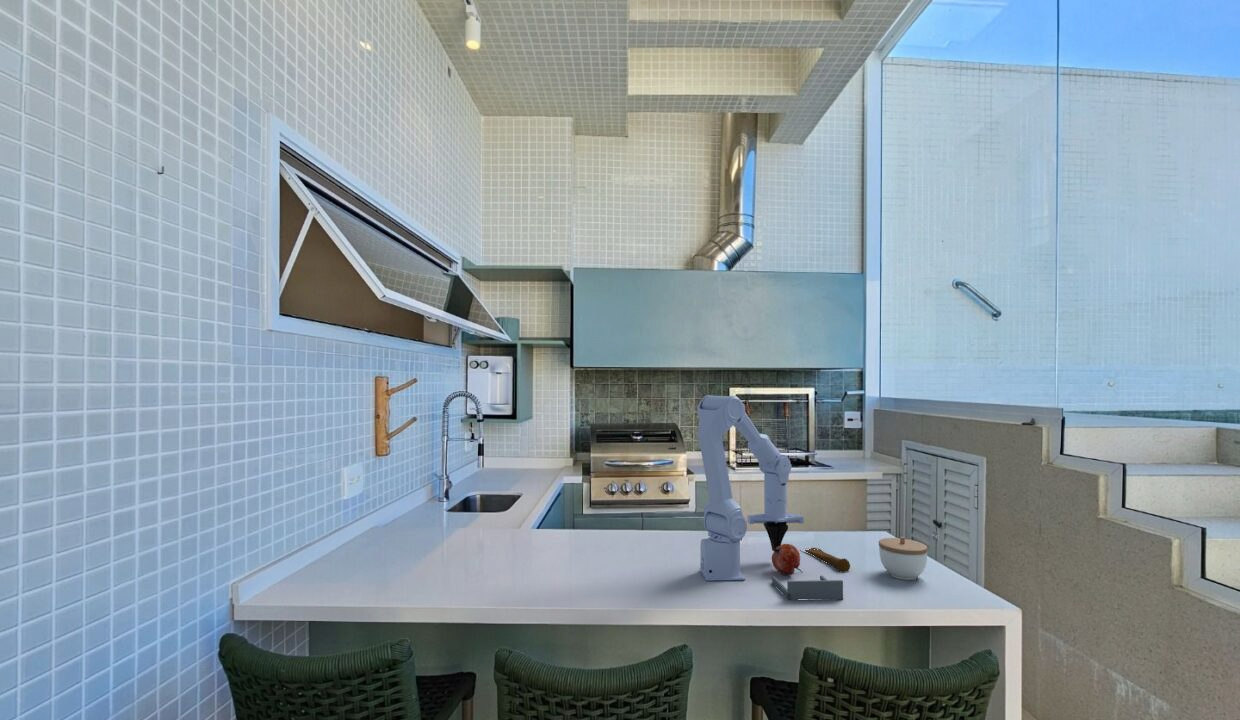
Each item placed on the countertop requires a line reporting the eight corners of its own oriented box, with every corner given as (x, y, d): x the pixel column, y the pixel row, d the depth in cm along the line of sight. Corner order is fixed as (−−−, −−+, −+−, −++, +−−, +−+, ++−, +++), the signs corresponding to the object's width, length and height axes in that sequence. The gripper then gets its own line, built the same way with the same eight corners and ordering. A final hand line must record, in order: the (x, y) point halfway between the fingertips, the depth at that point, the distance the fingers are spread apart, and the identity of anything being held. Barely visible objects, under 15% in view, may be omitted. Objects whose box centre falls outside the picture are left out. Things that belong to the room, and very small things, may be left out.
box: (788, 600, 119) (788, 581, 120) (772, 582, 130) (772, 565, 130) (843, 599, 120) (842, 580, 120) (822, 581, 131) (822, 564, 131)
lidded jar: (870, 569, 140) (869, 531, 141) (909, 567, 141) (908, 530, 142) (896, 584, 130) (895, 544, 130) (938, 582, 131) (937, 542, 131)
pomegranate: (789, 576, 141) (759, 552, 141) (807, 554, 141) (777, 530, 140) (798, 590, 134) (766, 565, 133) (817, 567, 133) (785, 542, 133)
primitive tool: (798, 551, 156) (798, 538, 157) (816, 550, 157) (816, 537, 158) (838, 574, 138) (838, 560, 138) (858, 573, 139) (858, 559, 139)
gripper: (753, 502, 141) (753, 555, 141) (808, 502, 142) (808, 555, 142) (745, 496, 149) (745, 547, 148) (797, 496, 149) (797, 546, 149)
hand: (775, 550), depth 145 cm, fingers closed
